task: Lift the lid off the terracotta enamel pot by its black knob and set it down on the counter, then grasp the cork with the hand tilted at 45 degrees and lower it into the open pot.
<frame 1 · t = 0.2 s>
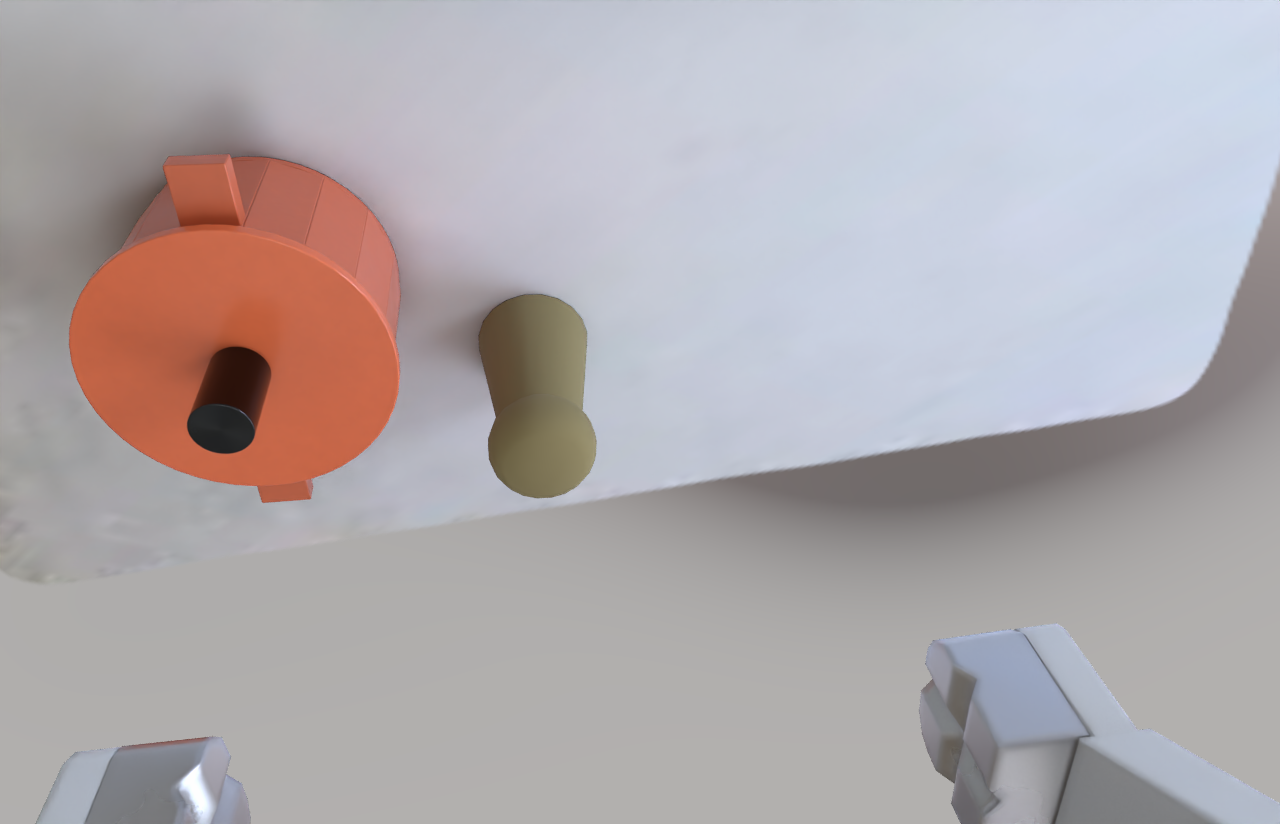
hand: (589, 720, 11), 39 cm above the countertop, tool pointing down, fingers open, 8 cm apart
cork: (533, 339, 54), on the countertop
pot: (272, 274, 49), on the countertop
pot lid: (243, 362, 43), point 8 cm above the countertop, touching pot
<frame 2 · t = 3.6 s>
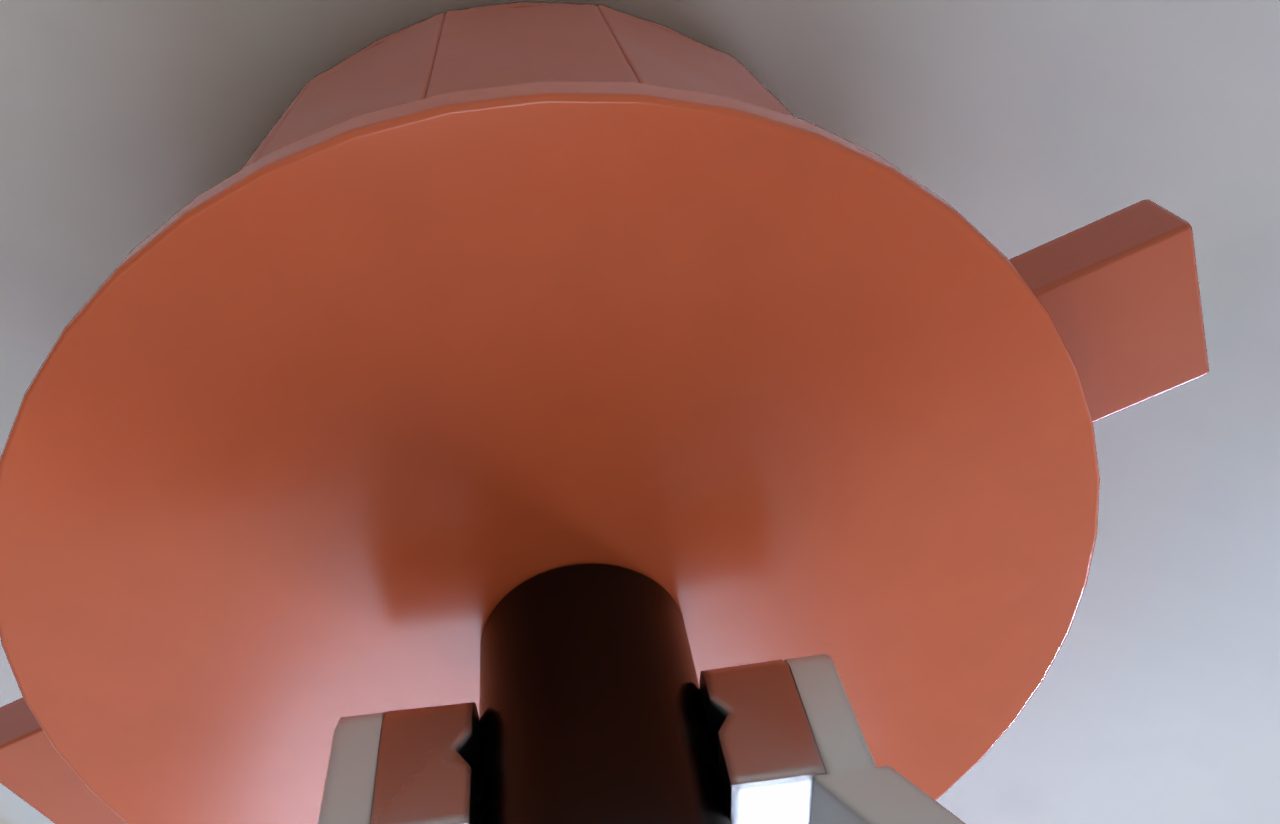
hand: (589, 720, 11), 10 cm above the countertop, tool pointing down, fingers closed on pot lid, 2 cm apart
pot: (547, 335, 20), on the countertop
pot lid: (580, 607, 13), point 8 cm above the countertop, touching gripper, pot
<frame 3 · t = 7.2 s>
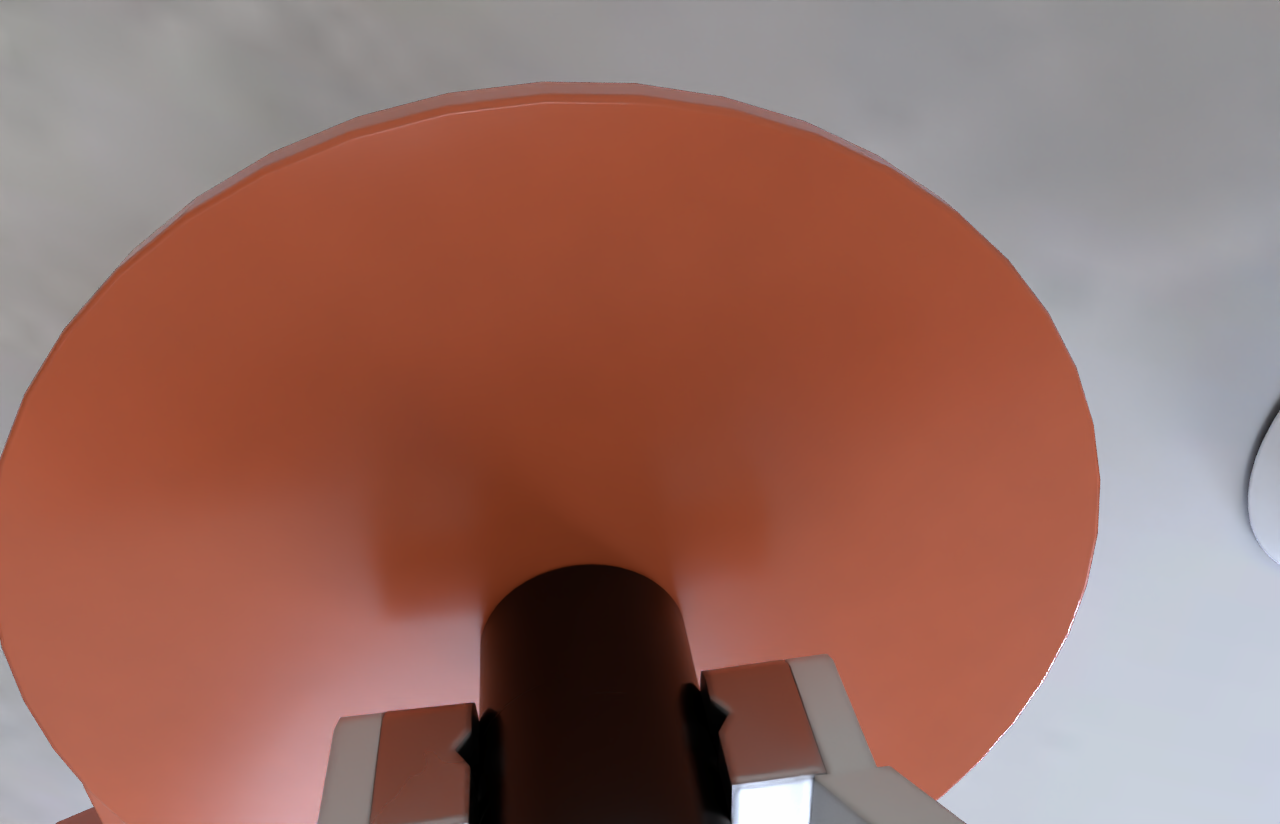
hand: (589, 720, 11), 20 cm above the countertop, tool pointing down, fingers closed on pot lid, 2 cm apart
pot: (354, 599, 35), on the countertop
pot lid: (580, 608, 13), point 18 cm above the countertop, touching gripper
when the fingers open (2 cm above the countertop, at t = 11.1 s): pot lid stays where it is, point 1 cm above the countertop.
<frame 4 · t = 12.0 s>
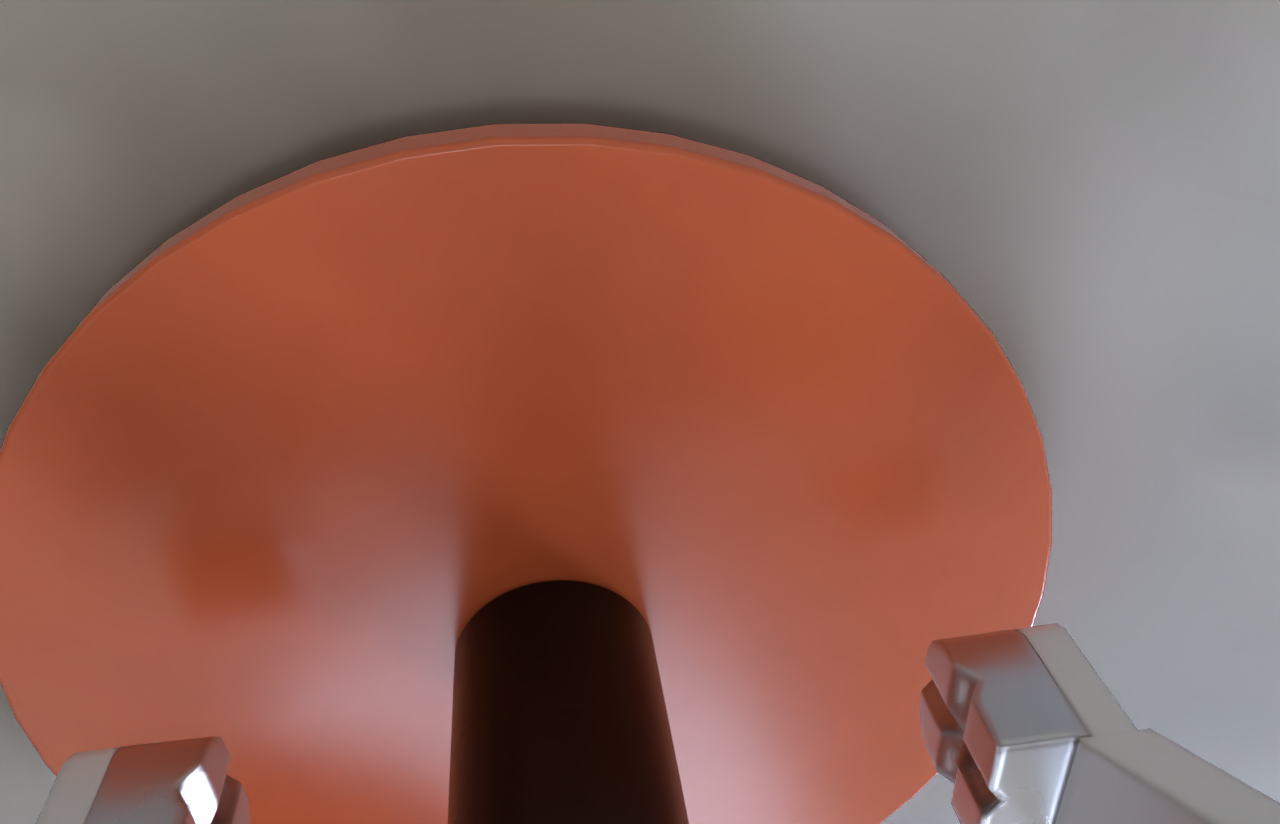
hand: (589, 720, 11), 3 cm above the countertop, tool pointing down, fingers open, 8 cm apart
pot lid: (552, 621, 13), point 1 cm above the countertop
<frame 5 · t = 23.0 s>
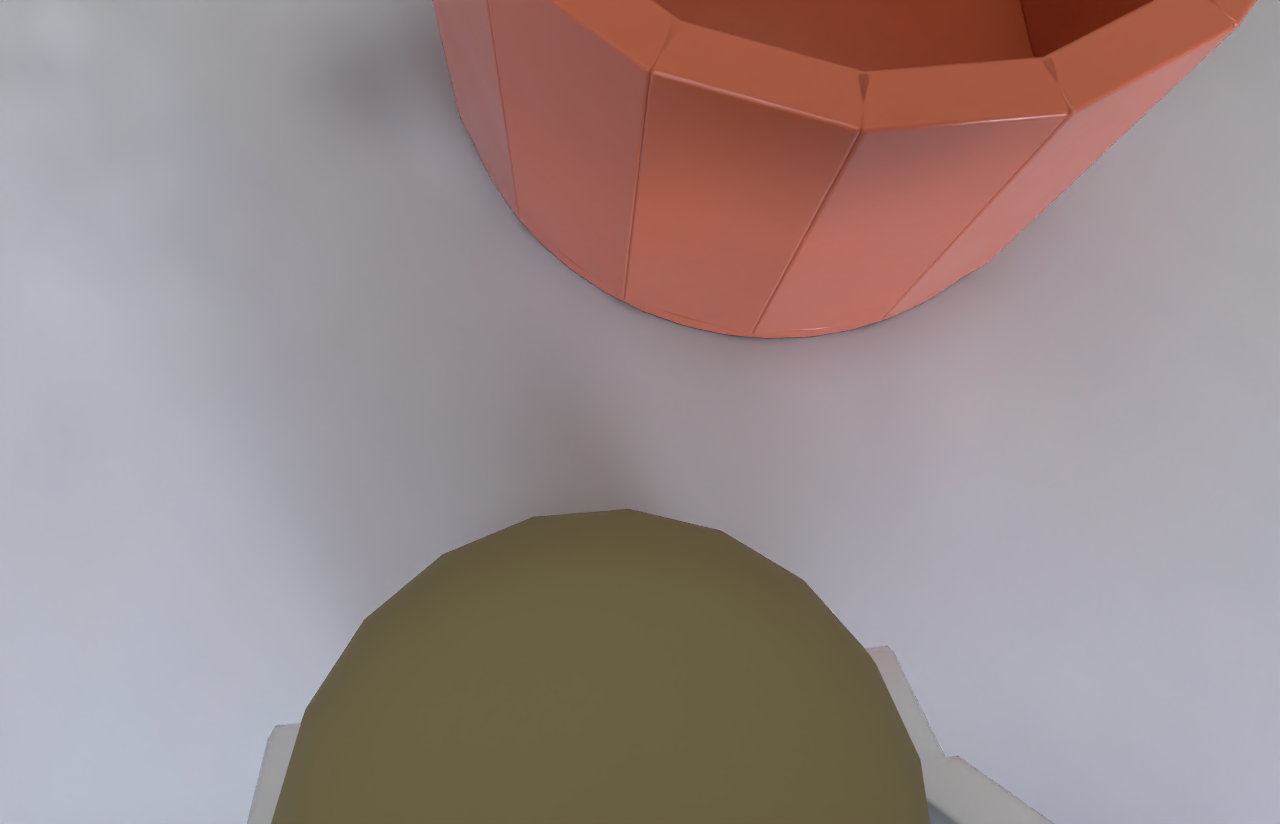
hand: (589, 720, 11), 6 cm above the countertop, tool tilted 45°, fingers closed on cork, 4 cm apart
cork: (593, 731, 17), on the countertop, touching gripper
pot: (760, 51, 20), on the countertop
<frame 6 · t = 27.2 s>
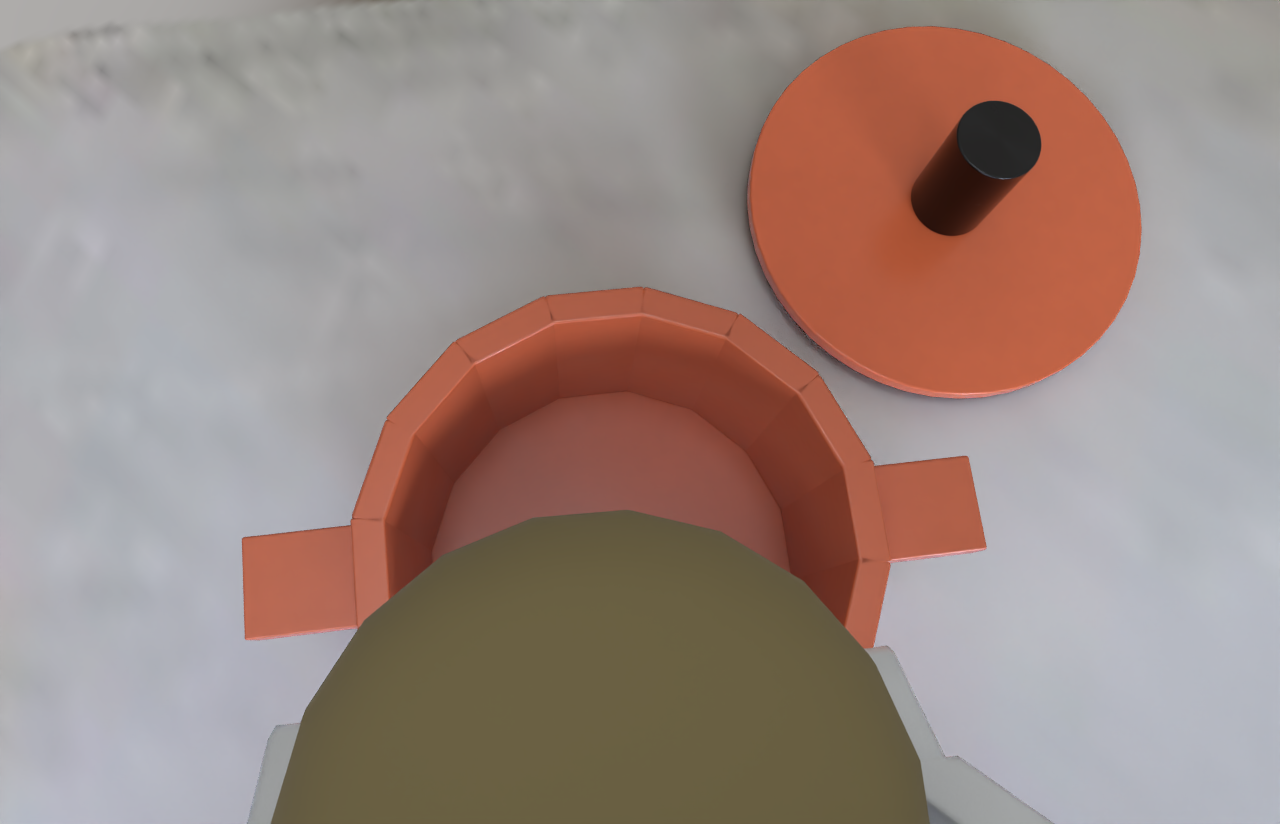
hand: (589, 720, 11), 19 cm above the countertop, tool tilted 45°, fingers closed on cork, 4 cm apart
cork: (593, 731, 17), point 13 cm above the countertop, touching gripper
pot: (612, 566, 31), on the countertop
pot lid: (941, 208, 34), point 1 cm above the countertop
when the fingers open (7 cm above the countertop, at t = 32.4 s): cork stays where it is, resting on pot.
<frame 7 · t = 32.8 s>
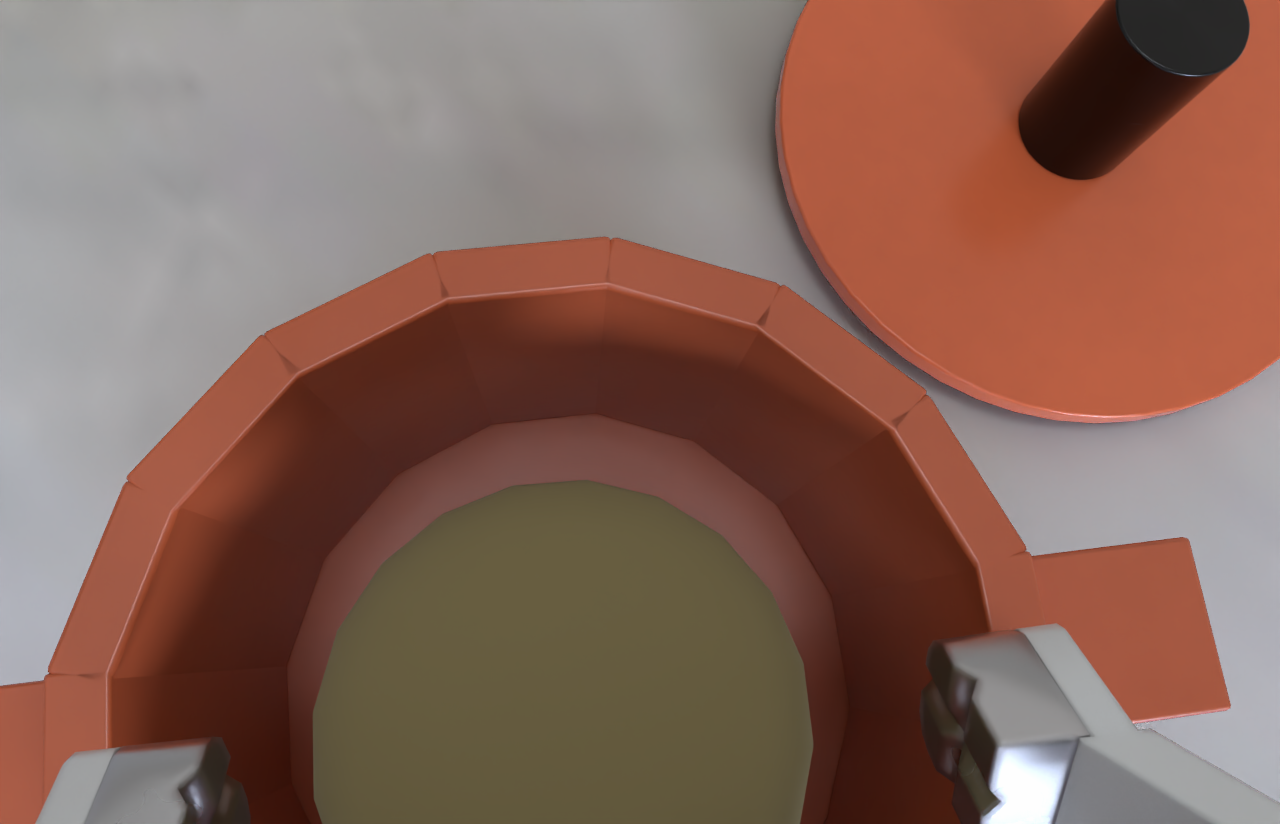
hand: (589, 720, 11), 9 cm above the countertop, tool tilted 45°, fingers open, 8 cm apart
cork: (570, 687, 20), resting on pot
pot: (572, 685, 20), on the countertop
pot lid: (1060, 142, 23), point 1 cm above the countertop
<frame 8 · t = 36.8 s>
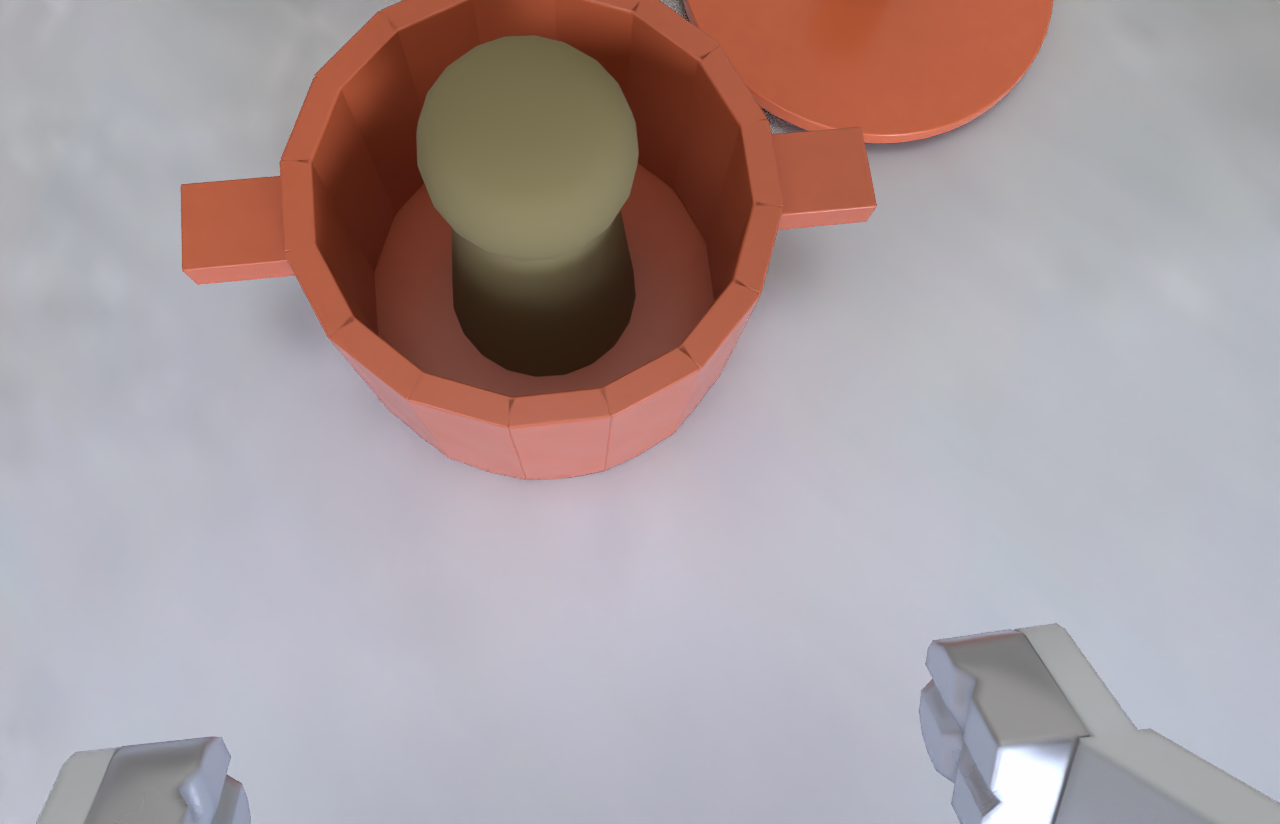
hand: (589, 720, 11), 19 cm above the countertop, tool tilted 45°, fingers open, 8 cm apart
cork: (544, 290, 32), resting on pot
pot: (546, 293, 32), on the countertop
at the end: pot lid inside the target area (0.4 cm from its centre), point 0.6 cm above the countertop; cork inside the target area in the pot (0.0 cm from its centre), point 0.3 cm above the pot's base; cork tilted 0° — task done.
